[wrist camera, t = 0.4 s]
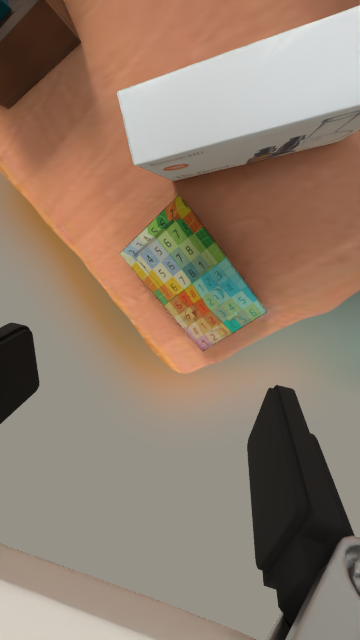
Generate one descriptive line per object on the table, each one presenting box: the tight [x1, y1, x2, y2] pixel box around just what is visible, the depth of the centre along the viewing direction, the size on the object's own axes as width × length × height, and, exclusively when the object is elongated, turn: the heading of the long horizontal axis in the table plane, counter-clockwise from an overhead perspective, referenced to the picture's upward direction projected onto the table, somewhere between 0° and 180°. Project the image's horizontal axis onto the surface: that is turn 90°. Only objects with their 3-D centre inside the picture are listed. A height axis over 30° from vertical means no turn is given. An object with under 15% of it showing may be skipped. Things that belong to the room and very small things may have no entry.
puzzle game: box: [120, 195, 267, 351], centre depth 36 cm, size 12×5×20 cm
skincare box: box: [117, 5, 360, 181], centre depth 23 cm, size 21×5×16 cm, turn 100°
